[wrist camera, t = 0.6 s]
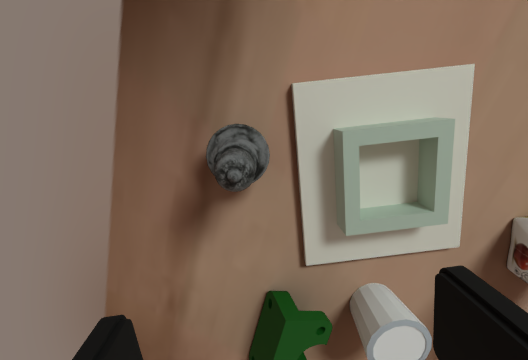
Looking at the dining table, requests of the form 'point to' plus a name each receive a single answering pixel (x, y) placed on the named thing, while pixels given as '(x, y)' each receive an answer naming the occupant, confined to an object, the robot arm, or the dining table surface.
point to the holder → (382, 162)
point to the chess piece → (237, 156)
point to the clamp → (287, 329)
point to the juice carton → (519, 248)
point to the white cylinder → (388, 325)
